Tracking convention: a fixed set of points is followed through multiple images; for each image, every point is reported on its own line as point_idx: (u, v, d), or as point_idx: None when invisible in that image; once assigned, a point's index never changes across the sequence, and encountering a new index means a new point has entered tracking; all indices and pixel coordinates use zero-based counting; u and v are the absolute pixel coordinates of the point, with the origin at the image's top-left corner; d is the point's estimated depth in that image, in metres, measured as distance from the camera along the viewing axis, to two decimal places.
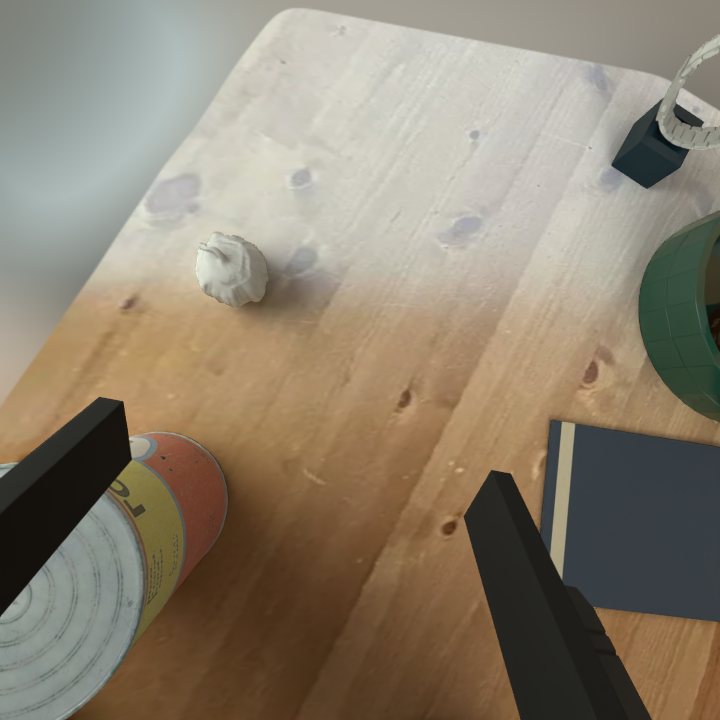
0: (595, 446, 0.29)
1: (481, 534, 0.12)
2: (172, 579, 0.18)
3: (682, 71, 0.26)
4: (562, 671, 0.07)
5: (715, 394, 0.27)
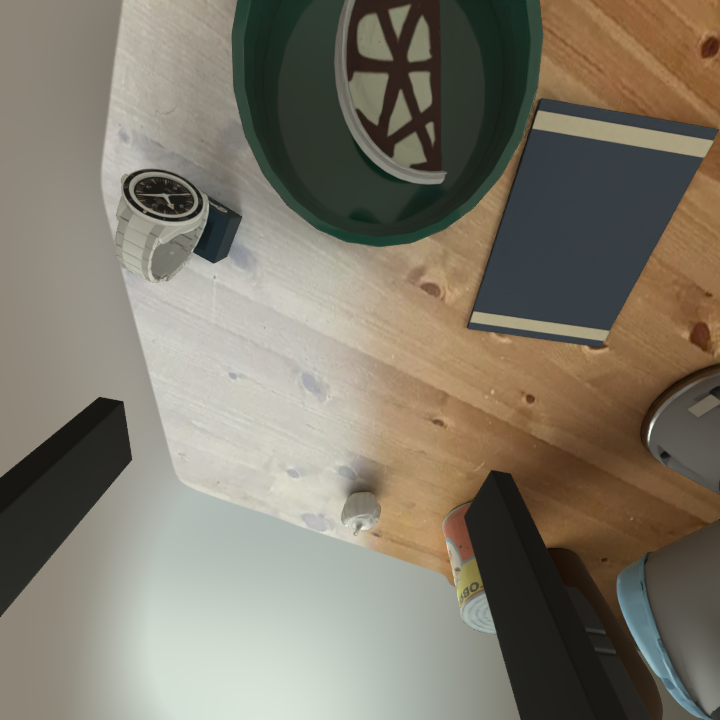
0: (495, 294, 0.34)
1: (481, 534, 0.12)
2: None
3: None
4: (562, 671, 0.07)
5: None
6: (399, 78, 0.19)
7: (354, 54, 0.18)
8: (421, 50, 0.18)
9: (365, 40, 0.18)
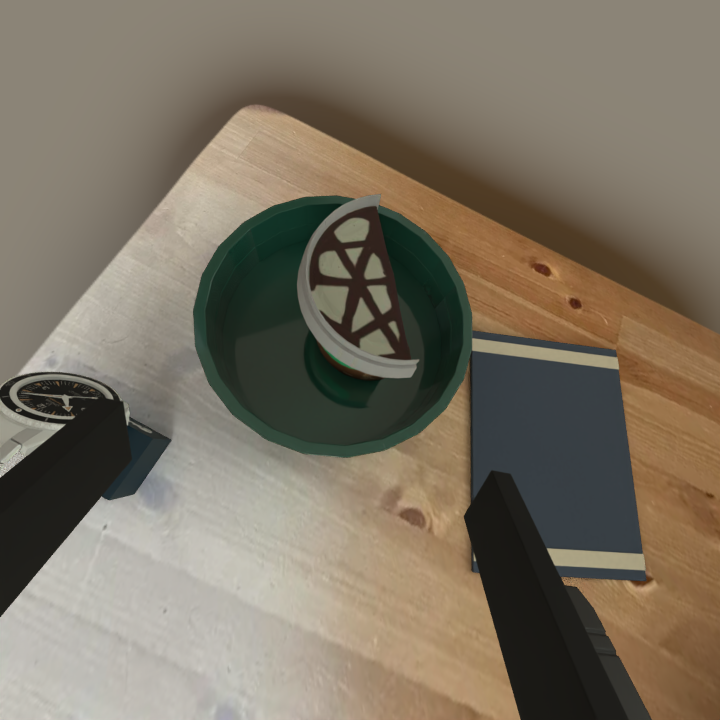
0: None
1: (481, 534, 0.12)
2: None
3: None
4: (562, 671, 0.07)
5: None
6: (358, 290, 0.20)
7: (316, 274, 0.20)
8: (376, 272, 0.20)
9: (326, 265, 0.20)
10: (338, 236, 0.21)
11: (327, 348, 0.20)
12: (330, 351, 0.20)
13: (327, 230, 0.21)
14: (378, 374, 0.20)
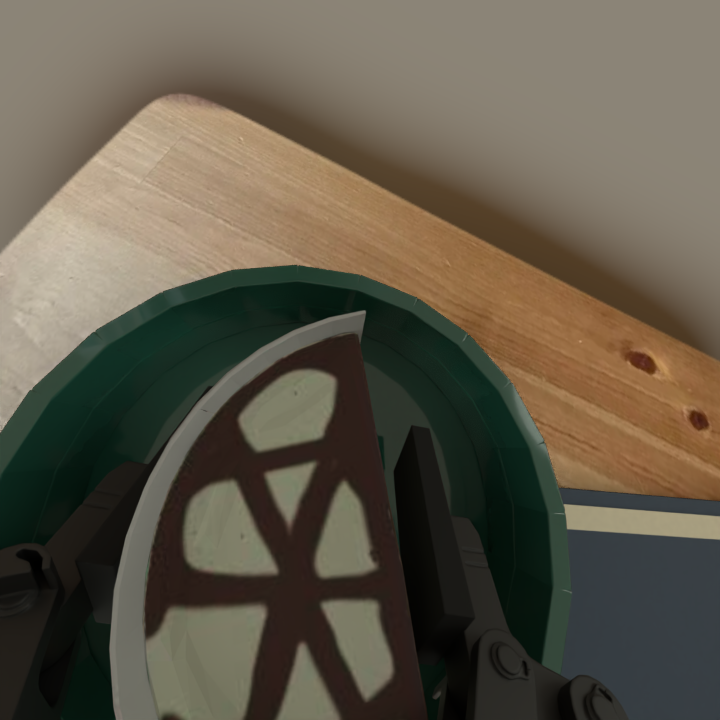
0: None
1: (401, 482, 0.13)
2: None
3: None
4: (430, 574, 0.09)
5: None
6: (297, 615, 0.07)
7: (173, 567, 0.07)
8: (351, 552, 0.07)
9: (206, 533, 0.07)
10: (249, 431, 0.08)
11: None
12: None
13: (218, 417, 0.08)
14: None
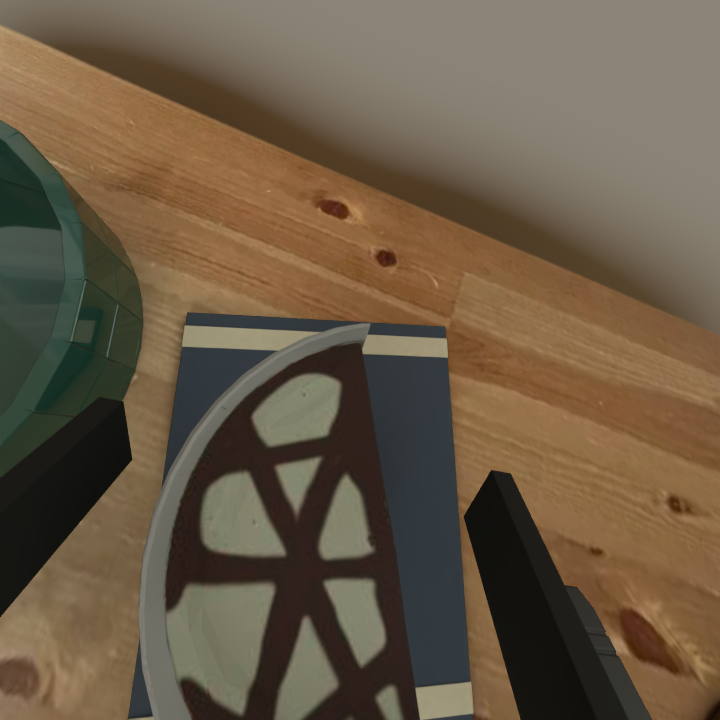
0: None
1: (481, 534, 0.12)
2: None
3: None
4: (562, 671, 0.07)
5: None
6: (302, 592, 0.08)
7: (191, 548, 0.08)
8: (351, 537, 0.08)
9: (222, 518, 0.08)
10: (261, 428, 0.08)
11: None
12: None
13: (234, 415, 0.08)
14: None
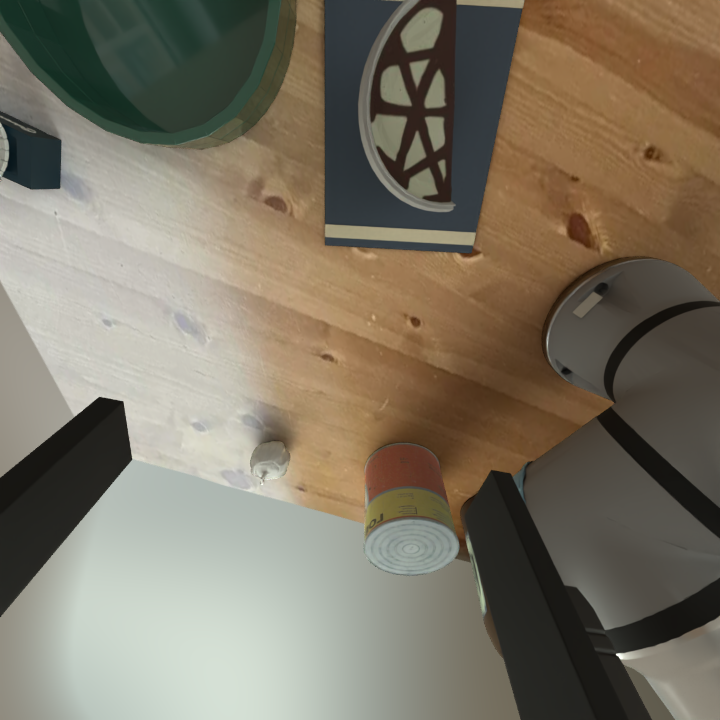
0: (342, 201, 0.32)
1: (481, 534, 0.12)
2: (416, 494, 0.39)
3: None
4: (562, 671, 0.07)
5: (265, 88, 0.25)
6: (416, 121, 0.21)
7: (377, 99, 0.20)
8: (437, 98, 0.20)
9: (388, 87, 0.20)
10: (404, 42, 0.19)
11: (381, 181, 0.23)
12: (384, 184, 0.24)
13: (393, 33, 0.19)
14: (421, 208, 0.24)
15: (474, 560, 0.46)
